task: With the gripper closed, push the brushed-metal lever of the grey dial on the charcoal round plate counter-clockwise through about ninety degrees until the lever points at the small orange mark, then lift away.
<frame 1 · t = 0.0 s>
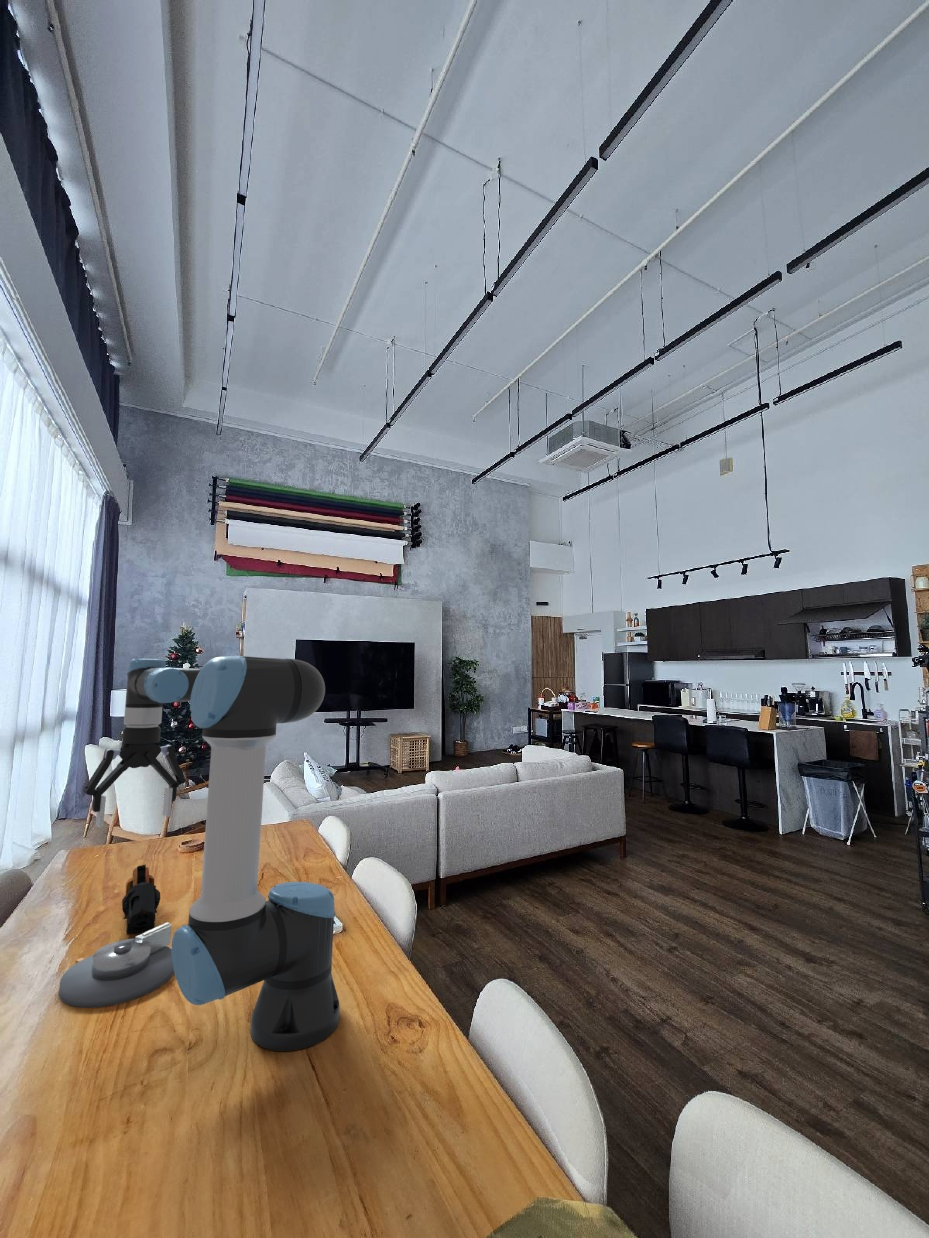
hand: (134, 821, 123), 28 cm above the table, fingers open, 13 cm apart
tool: (138, 923, 135), on the table
dial: (134, 948, 113), point 4 cm above the table, hinge at -70.0°
dial plate: (120, 977, 110), on the table
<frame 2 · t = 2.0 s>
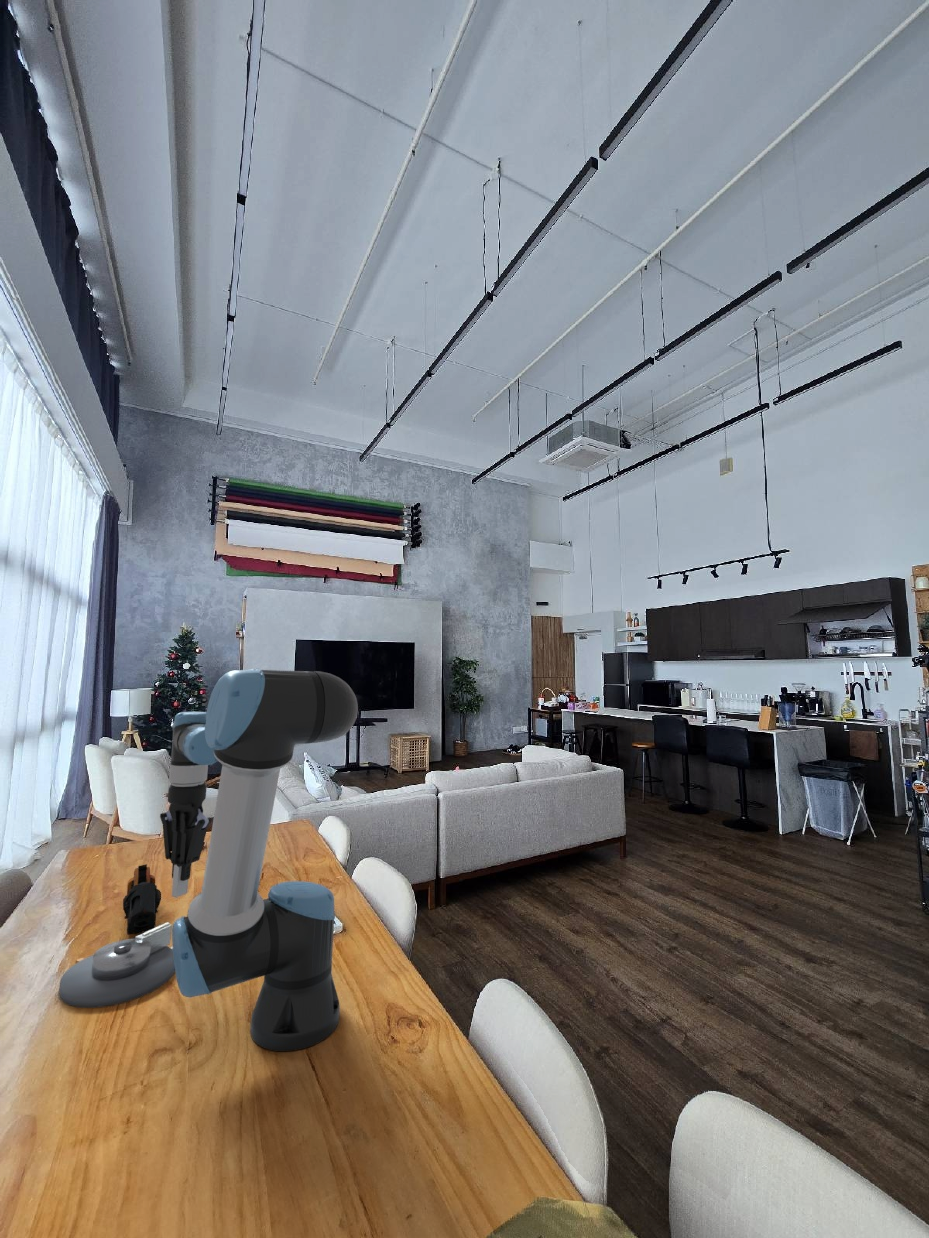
hand: (179, 894, 118), 14 cm above the table, fingers closed
nothing on the table moved.
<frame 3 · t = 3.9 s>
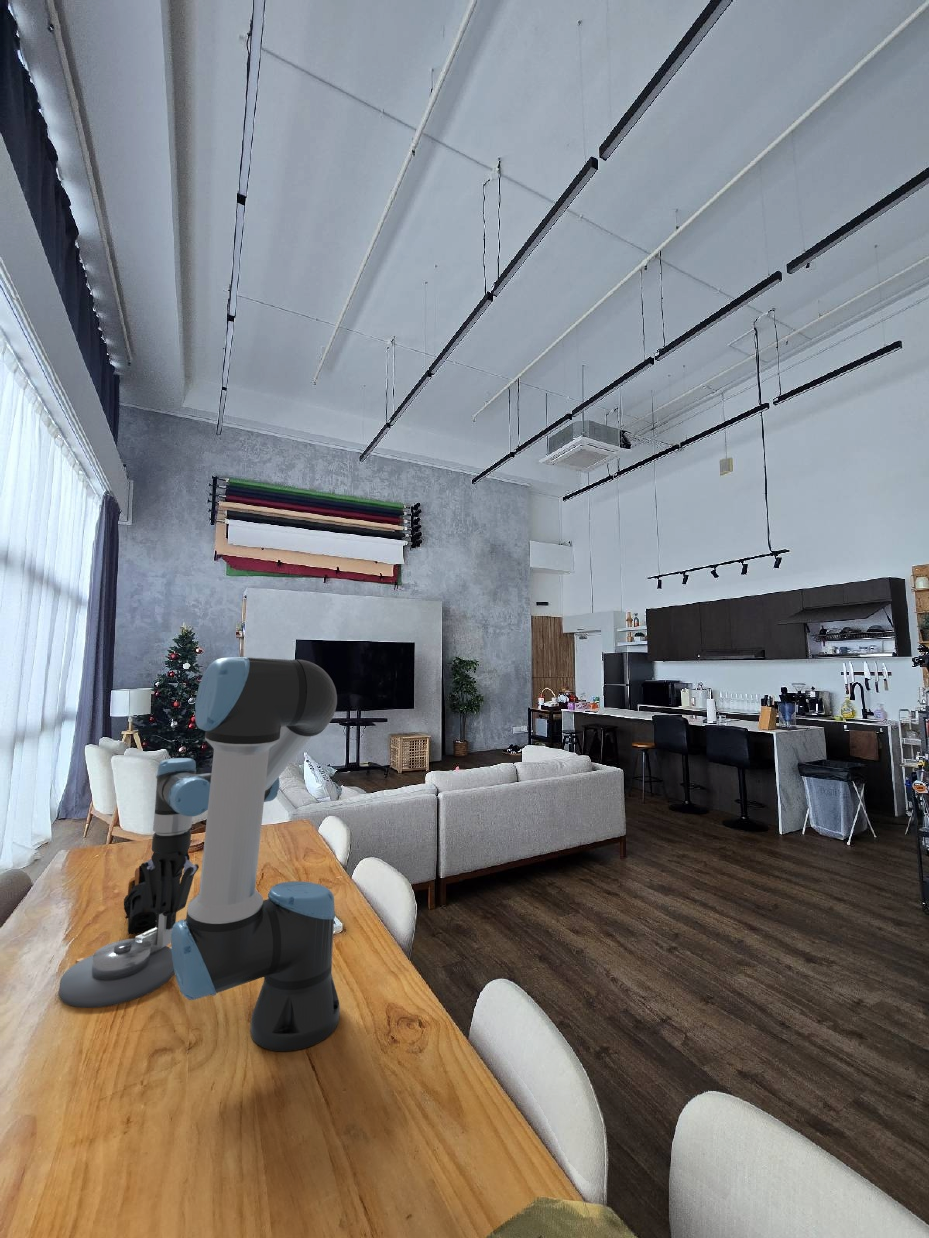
hand: (164, 943, 118), 3 cm above the table, fingers closed
dial: (134, 948, 113), point 4 cm above the table, hinge at -69.6°, touching gripper
everything else where it was.
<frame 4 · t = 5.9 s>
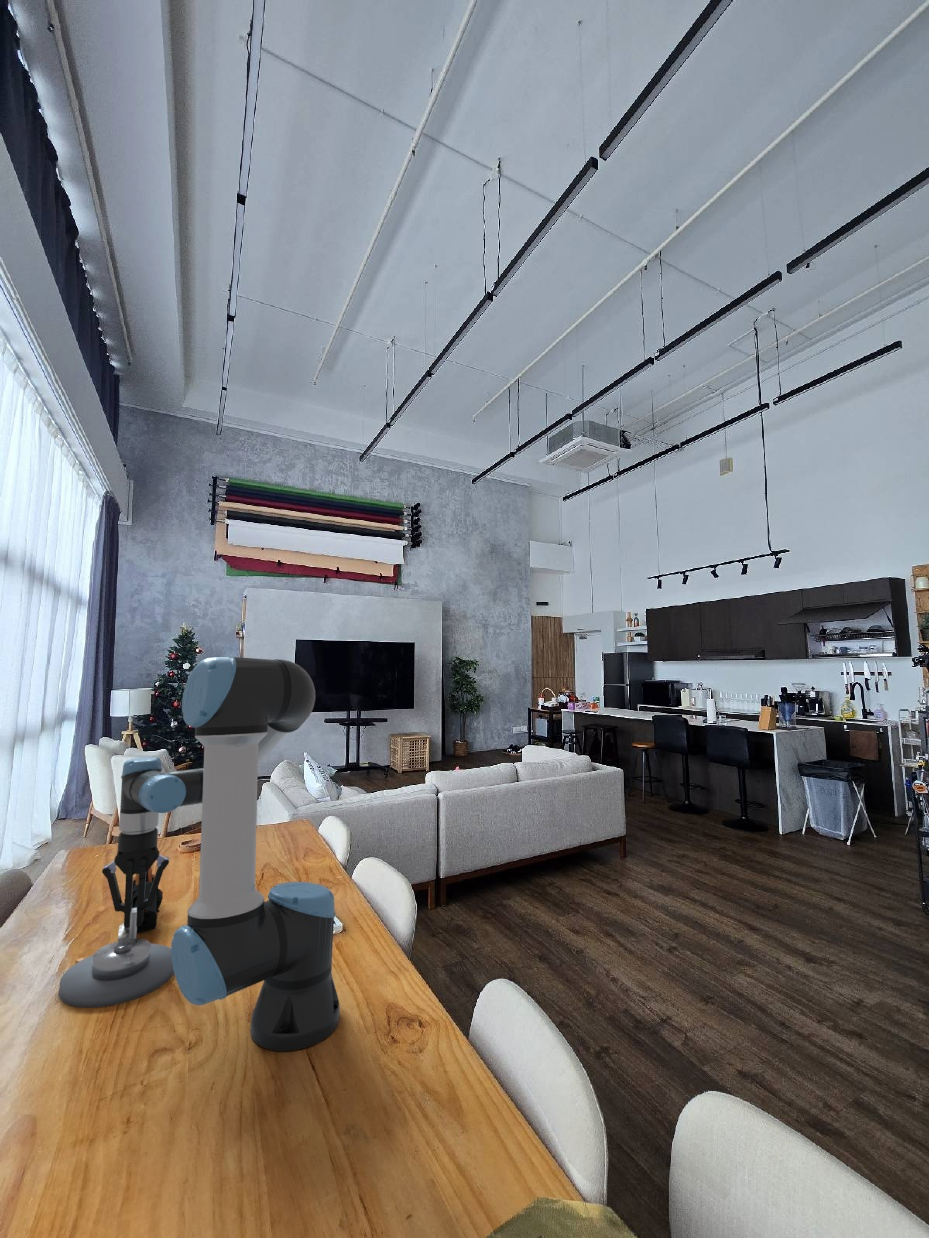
hand: (132, 941, 119), 3 cm above the table, fingers closed
dial: (122, 948, 113), point 4 cm above the table, hinge at -17.5°, touching gripper
everything else where it was.
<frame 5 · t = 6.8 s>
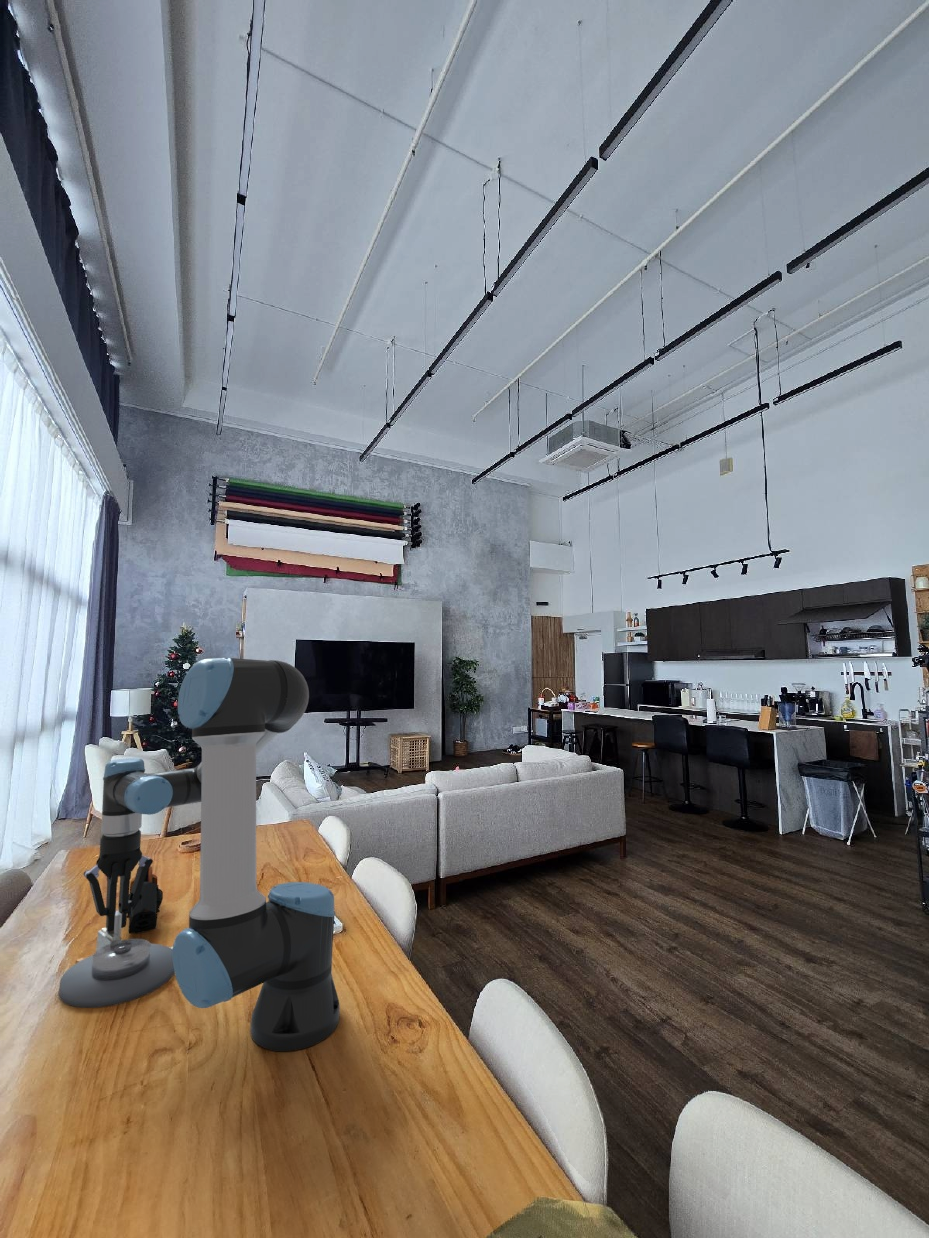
hand: (115, 944, 117), 3 cm above the table, fingers closed
dial: (116, 950, 112), point 4 cm above the table, hinge at 4.4°, touching gripper
everything else where it was.
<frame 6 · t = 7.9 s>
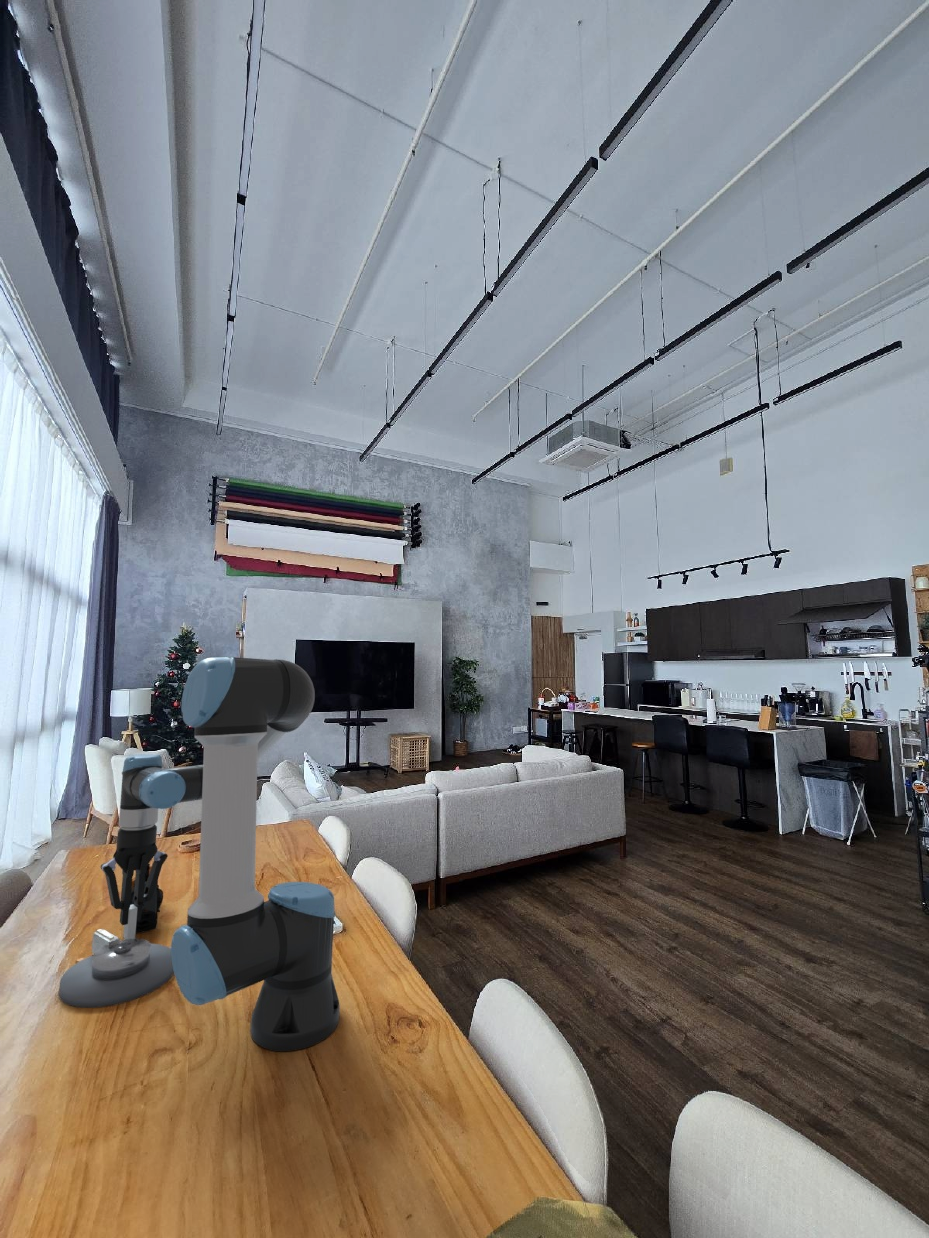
hand: (129, 938, 119), 4 cm above the table, fingers closed
dial: (115, 950, 112), point 4 cm above the table, hinge at 9.3°
everything else where it was.
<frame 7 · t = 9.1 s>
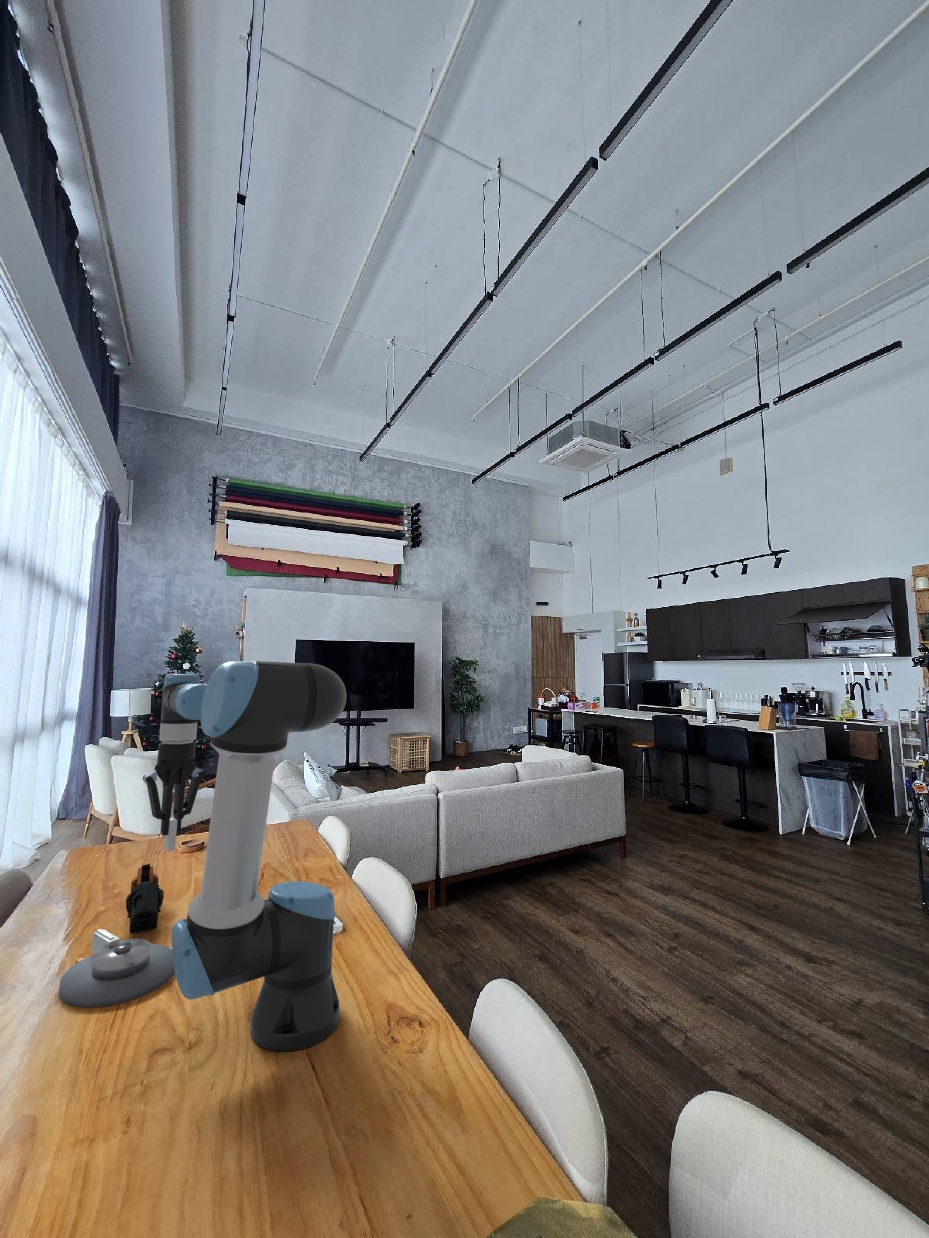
hand: (169, 848, 122), 22 cm above the table, fingers closed
nothing on the table moved.
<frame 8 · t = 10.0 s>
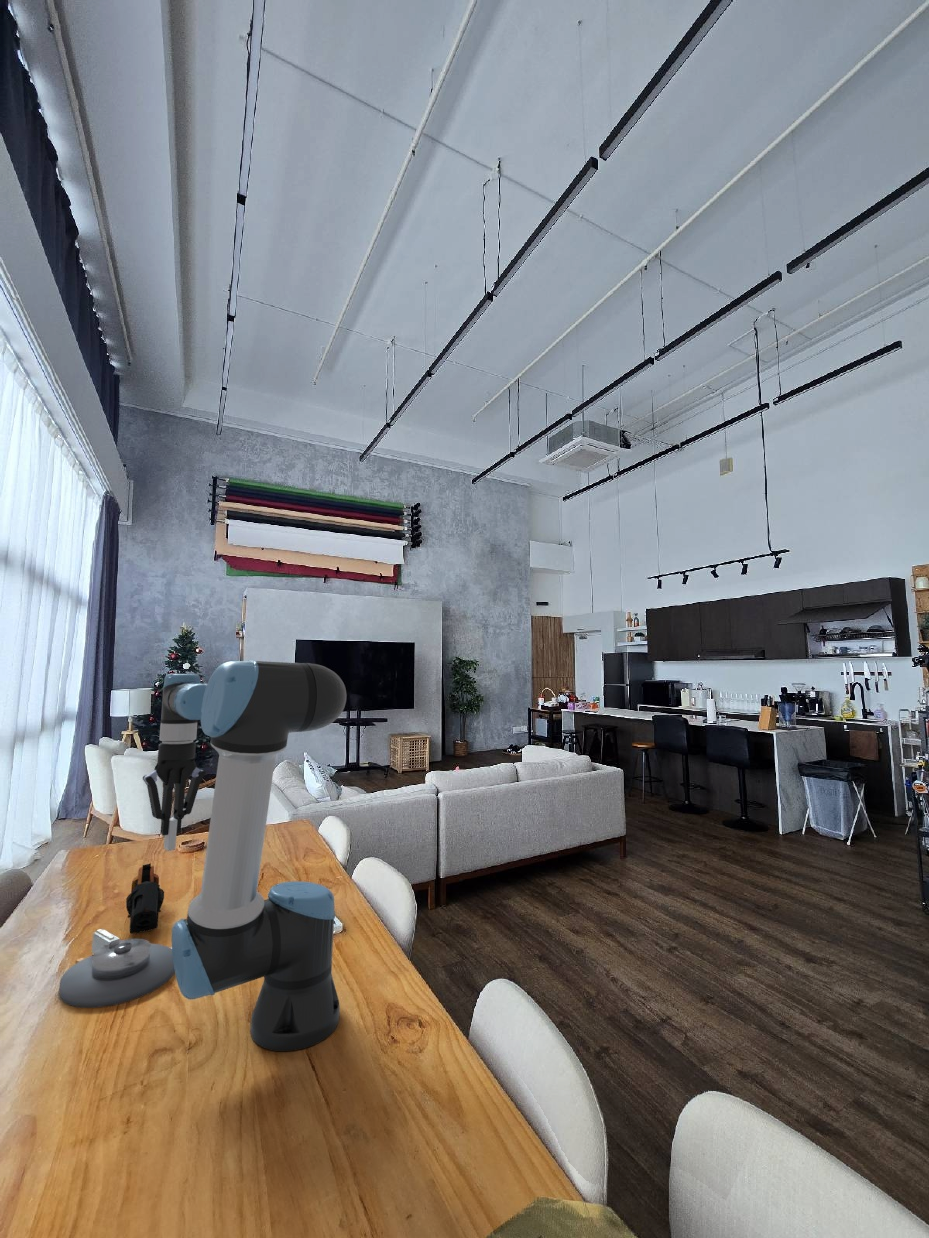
hand: (169, 848, 122), 22 cm above the table, fingers closed
nothing on the table moved.
at the end: dial at +9° (first picture: -70°); dial touching nothing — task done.
